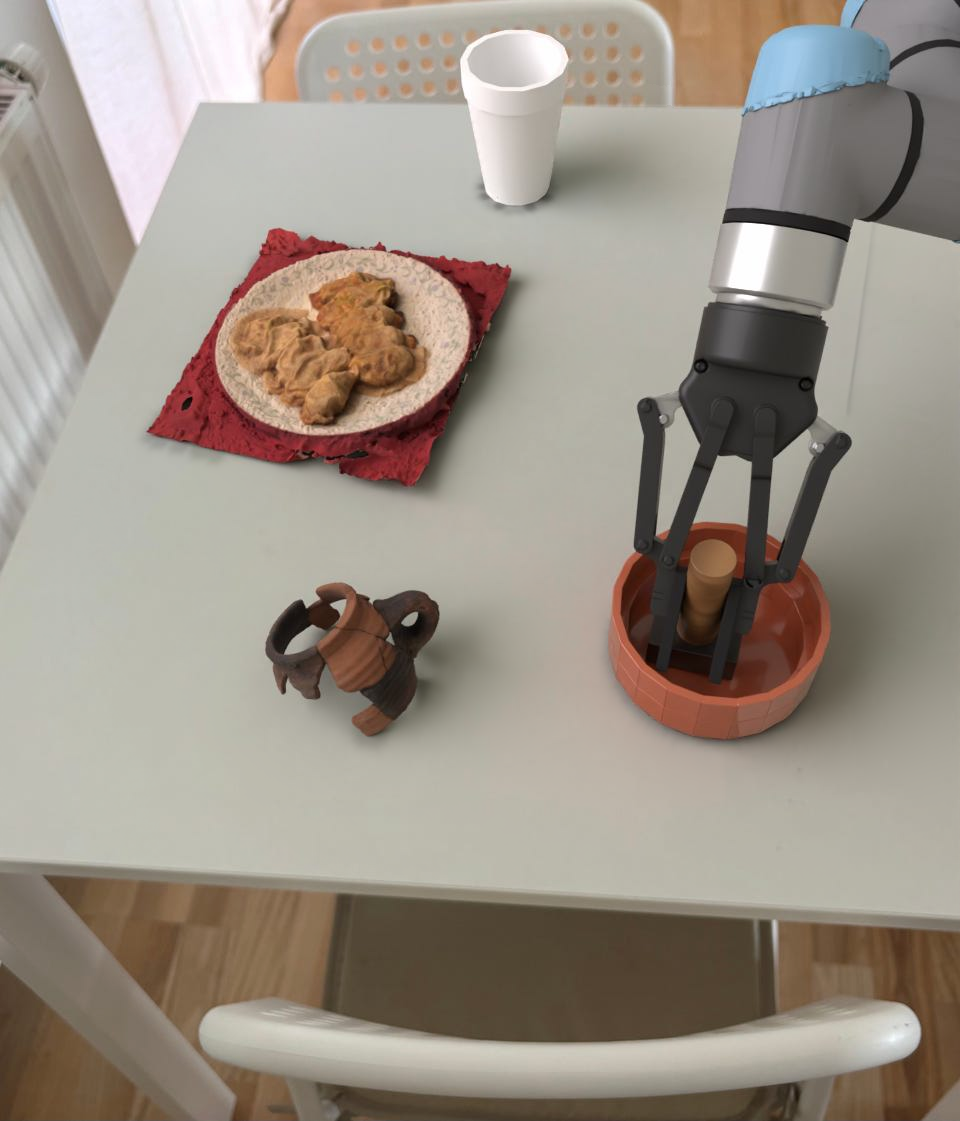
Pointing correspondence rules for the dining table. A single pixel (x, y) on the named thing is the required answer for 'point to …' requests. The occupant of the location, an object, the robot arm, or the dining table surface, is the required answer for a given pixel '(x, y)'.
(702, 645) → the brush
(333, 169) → the dining table surface
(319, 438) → the plate with food
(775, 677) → the bowl
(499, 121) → the foam cup
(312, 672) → the pottery mug
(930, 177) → the robot arm
